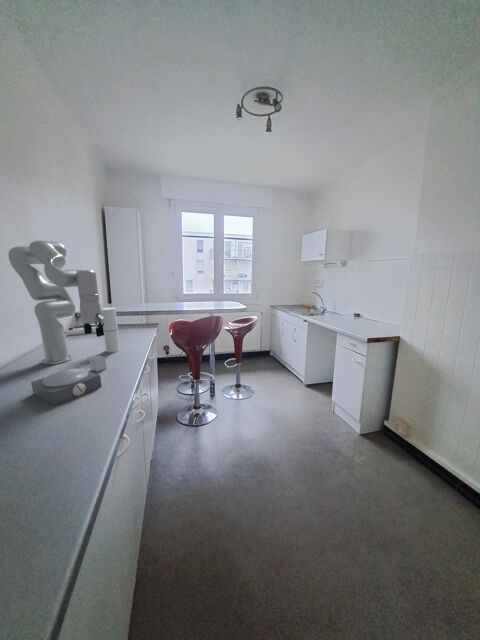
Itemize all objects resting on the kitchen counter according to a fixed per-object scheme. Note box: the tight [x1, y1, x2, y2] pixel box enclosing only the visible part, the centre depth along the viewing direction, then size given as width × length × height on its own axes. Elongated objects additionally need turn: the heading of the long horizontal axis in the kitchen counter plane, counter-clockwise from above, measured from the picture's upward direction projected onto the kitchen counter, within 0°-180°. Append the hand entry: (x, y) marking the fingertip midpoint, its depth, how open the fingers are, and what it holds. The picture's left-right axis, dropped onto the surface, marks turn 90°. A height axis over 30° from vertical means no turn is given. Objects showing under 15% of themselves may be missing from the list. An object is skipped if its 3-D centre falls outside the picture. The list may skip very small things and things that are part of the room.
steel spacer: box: [88, 355, 108, 374], centre depth 119 cm, size 5×5×6 cm
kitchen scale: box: [30, 366, 102, 407], centre depth 99 cm, size 18×17×6 cm
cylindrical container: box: [101, 307, 121, 353], centre depth 146 cm, size 7×7×25 cm
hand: (94, 334), depth 116 cm, fingers open, 9 cm apart
